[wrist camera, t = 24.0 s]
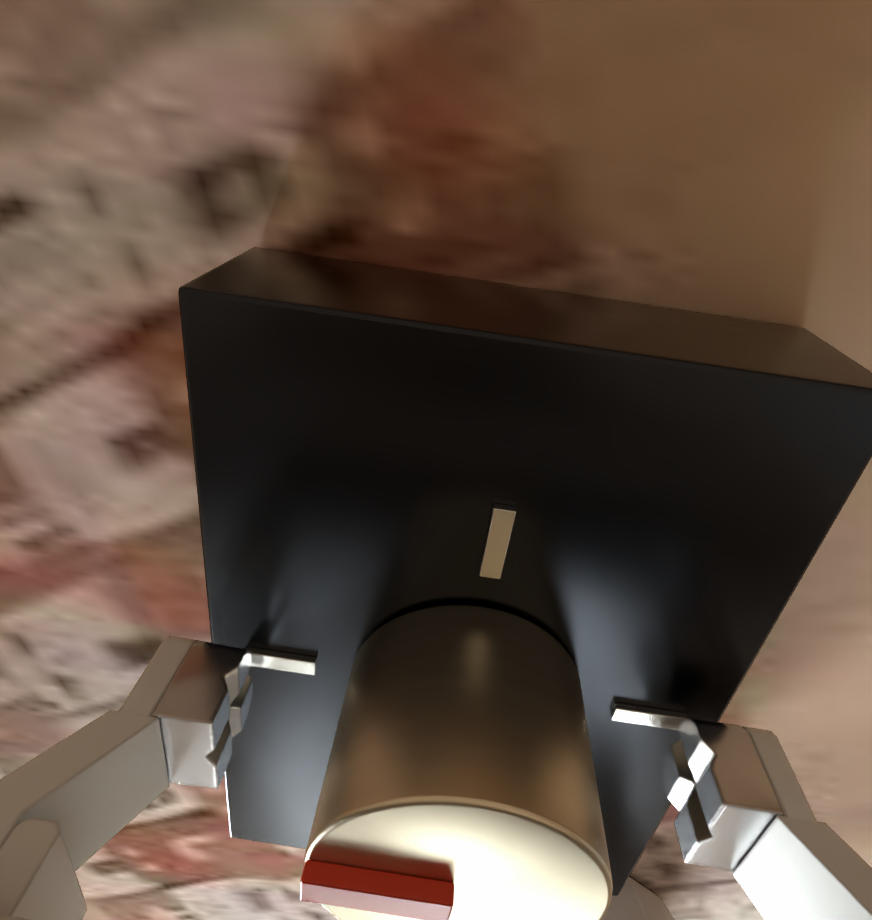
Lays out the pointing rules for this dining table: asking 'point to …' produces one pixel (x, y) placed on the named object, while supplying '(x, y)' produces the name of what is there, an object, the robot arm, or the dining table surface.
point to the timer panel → (500, 498)
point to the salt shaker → (636, 904)
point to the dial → (460, 779)
